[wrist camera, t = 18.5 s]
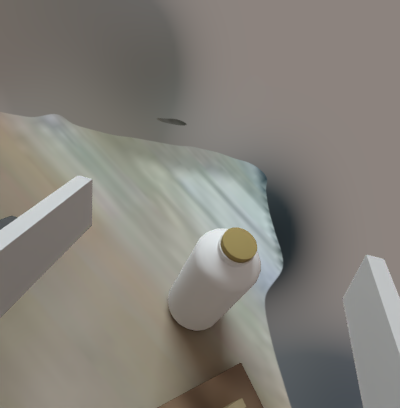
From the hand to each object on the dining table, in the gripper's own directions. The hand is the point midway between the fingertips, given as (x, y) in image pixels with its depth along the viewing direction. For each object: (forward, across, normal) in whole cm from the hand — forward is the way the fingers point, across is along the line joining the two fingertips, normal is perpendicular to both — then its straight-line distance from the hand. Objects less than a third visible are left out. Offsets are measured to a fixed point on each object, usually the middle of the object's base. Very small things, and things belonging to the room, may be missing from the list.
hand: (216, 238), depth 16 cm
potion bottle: (+23, -2, -29) cm, 37 cm away
